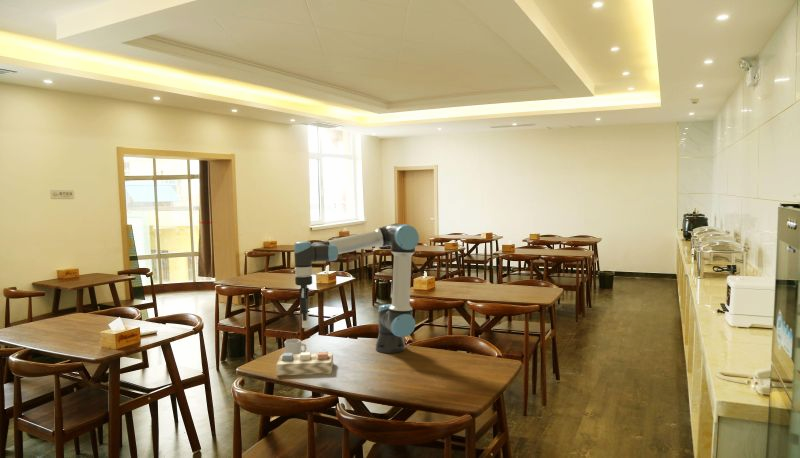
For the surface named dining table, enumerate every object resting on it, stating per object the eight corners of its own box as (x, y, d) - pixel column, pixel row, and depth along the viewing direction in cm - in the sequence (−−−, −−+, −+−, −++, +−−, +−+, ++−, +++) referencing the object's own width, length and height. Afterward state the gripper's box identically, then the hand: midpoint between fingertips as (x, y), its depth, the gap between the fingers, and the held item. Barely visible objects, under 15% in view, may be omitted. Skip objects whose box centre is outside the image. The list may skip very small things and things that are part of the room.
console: (333, 363, 246) (332, 353, 245) (331, 373, 232) (330, 362, 231) (281, 365, 244) (281, 354, 244) (276, 375, 230) (276, 364, 230)
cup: (308, 354, 260) (308, 338, 259) (304, 359, 252) (303, 343, 251) (287, 354, 261) (287, 338, 260) (282, 359, 253) (282, 343, 253)
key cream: (310, 362, 240) (310, 352, 240) (309, 365, 236) (309, 354, 236) (301, 362, 240) (301, 352, 239) (300, 365, 236) (300, 355, 235)
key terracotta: (328, 361, 241) (327, 351, 240) (327, 364, 236) (327, 354, 236) (319, 362, 240) (318, 351, 240) (318, 365, 236) (317, 354, 236)
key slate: (293, 362, 240) (292, 352, 239) (291, 365, 235) (291, 355, 235) (283, 363, 239) (283, 353, 239) (282, 366, 235) (282, 355, 235)
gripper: (297, 273, 242) (298, 323, 243) (293, 278, 229) (294, 331, 230) (313, 273, 242) (314, 323, 244) (310, 277, 229) (312, 330, 231)
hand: (305, 327), depth 237 cm, fingers closed
